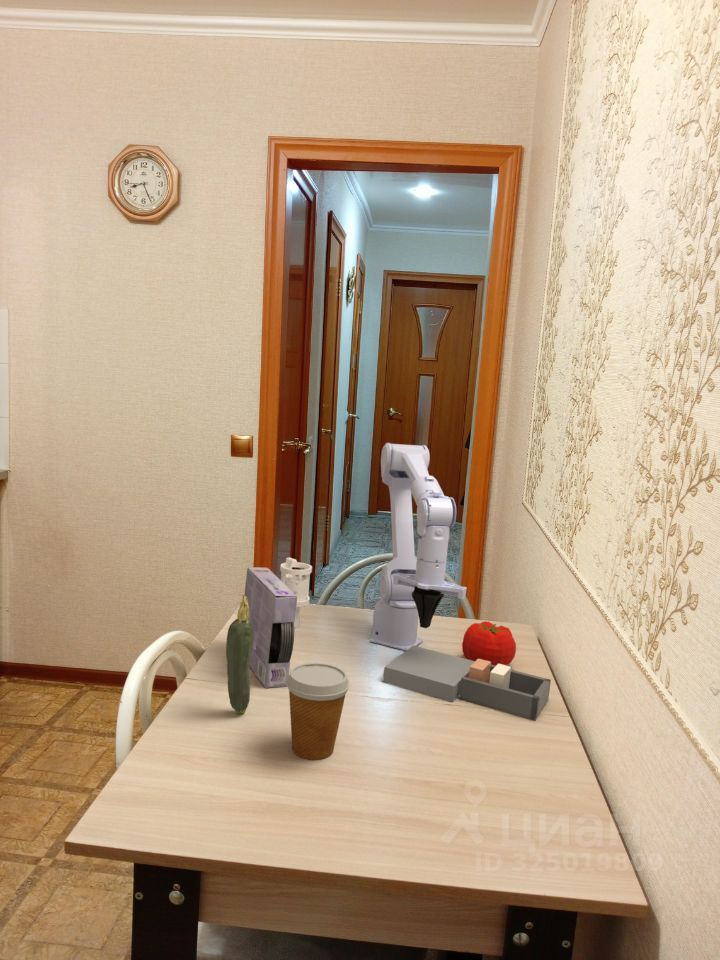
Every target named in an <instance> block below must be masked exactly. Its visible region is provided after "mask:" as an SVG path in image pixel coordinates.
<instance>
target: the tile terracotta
mask: <svg viewBox="0 0 720 960" xmlns="http://www.w3.org/2000/svg"><path fill="white" fill-rule="evenodd" d="M490 666H491V662H490V661H486V660H482V659H477V660H476V661H475V662H474V663H473V664H472V665H471V666H470V670H469V678H471V679H475V680H479V681H482V682H486V683H489V675H490Z"/></svg>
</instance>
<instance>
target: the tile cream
mask: <svg viewBox="0 0 720 960" xmlns="http://www.w3.org/2000/svg"><path fill="white" fill-rule="evenodd" d="M511 670H512V666H509V665H507V666H506V665H502V664H497V665H496V666H495V668H494V669H493V670H492V671H491V672H490V680H489V683H490V684H493V685H497V686H501V687H505V688H508V689H509V682H510V673H511Z"/></svg>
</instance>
